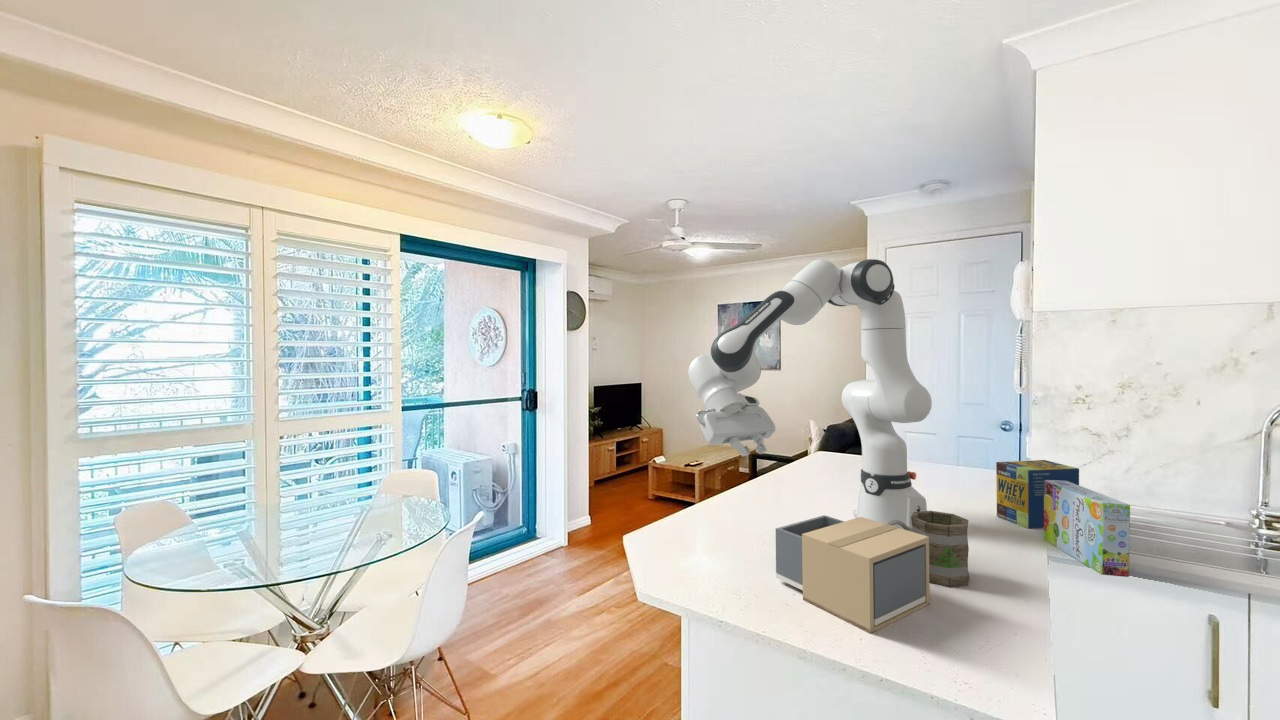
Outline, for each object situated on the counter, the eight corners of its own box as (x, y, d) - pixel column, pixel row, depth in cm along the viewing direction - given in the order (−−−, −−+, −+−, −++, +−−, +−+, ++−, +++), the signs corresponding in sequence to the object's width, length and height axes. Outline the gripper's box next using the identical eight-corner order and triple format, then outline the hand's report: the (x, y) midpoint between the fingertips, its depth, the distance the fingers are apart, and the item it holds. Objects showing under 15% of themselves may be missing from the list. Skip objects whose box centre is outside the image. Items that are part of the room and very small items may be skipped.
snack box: (1133, 578, 103) (1132, 504, 103) (1101, 576, 104) (1100, 503, 104) (1067, 540, 124) (1067, 479, 124) (1041, 539, 125) (1040, 478, 125)
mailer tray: (825, 560, 112) (824, 515, 111) (925, 601, 93) (924, 546, 93) (776, 577, 104) (775, 528, 103) (875, 625, 85) (874, 565, 85)
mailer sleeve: (861, 576, 105) (861, 516, 105) (929, 603, 94) (929, 536, 93) (802, 599, 96) (801, 533, 96) (870, 633, 84) (869, 558, 84)
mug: (959, 567, 109) (958, 511, 109) (980, 590, 99) (979, 528, 99) (880, 561, 113) (879, 508, 113) (893, 583, 102) (892, 524, 102)
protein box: (995, 516, 142) (995, 461, 142) (1045, 513, 144) (1044, 459, 144) (1028, 529, 132) (1027, 469, 132) (1081, 526, 134) (1080, 467, 134)
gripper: (699, 402, 120) (727, 450, 111) (761, 397, 130) (791, 440, 122) (688, 419, 123) (714, 467, 115) (749, 413, 134) (778, 456, 126)
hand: (755, 453), depth 119 cm, fingers open, 4 cm apart
